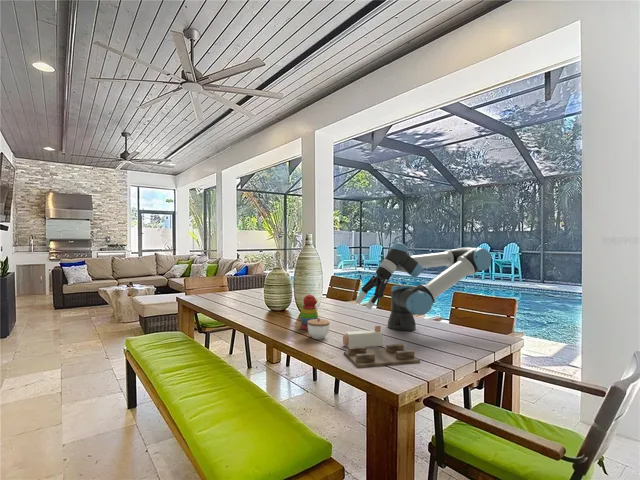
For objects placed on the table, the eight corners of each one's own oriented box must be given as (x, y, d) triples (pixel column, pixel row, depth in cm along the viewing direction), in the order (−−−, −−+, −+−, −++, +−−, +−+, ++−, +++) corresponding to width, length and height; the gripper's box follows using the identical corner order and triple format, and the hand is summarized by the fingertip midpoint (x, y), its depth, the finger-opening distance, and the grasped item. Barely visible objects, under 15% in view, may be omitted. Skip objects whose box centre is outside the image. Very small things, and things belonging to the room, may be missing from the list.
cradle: (400, 349, 152) (400, 341, 152) (420, 362, 136) (420, 353, 136) (343, 354, 145) (343, 345, 145) (357, 367, 130) (357, 358, 130)
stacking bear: (316, 331, 180) (317, 296, 180) (297, 330, 182) (298, 295, 182) (320, 326, 191) (321, 293, 191) (302, 325, 193) (303, 292, 193)
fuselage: (377, 343, 162) (378, 324, 162) (382, 345, 158) (382, 327, 158) (342, 345, 158) (343, 326, 158) (346, 348, 153) (346, 328, 153)
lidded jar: (307, 334, 175) (308, 315, 175) (329, 334, 174) (329, 315, 174) (306, 340, 164) (306, 320, 164) (329, 340, 163) (329, 320, 163)
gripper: (370, 264, 186) (347, 297, 182) (391, 267, 162) (366, 305, 158) (380, 272, 187) (358, 305, 184) (403, 276, 163) (378, 314, 160)
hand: (362, 305), depth 171 cm, fingers open, 13 cm apart
